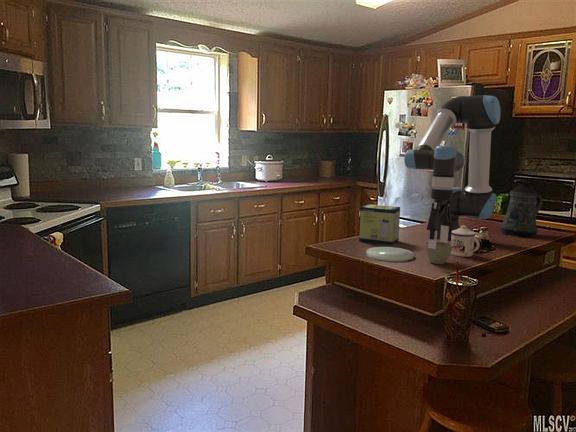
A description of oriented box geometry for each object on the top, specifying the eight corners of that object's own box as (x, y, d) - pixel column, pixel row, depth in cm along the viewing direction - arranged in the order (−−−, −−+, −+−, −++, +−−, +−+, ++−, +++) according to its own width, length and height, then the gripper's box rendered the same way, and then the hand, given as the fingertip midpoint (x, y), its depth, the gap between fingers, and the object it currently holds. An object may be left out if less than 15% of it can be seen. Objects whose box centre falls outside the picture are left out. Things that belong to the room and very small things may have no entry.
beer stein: (495, 234, 247) (500, 183, 243) (508, 229, 262) (513, 181, 258) (531, 239, 237) (537, 186, 232) (542, 233, 251) (548, 183, 247)
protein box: (365, 237, 232) (367, 203, 229) (398, 241, 225) (401, 206, 222) (358, 241, 222) (359, 206, 220) (393, 245, 216) (395, 209, 213)
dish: (378, 248, 209) (378, 244, 209) (420, 255, 199) (420, 251, 199) (358, 256, 194) (358, 252, 194) (402, 264, 184) (403, 260, 184)
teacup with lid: (444, 253, 203) (447, 225, 201) (458, 250, 208) (460, 223, 207) (470, 259, 194) (473, 230, 192) (484, 256, 199) (487, 228, 197)
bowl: (452, 266, 182) (454, 247, 181) (424, 264, 184) (425, 245, 183) (449, 260, 192) (451, 242, 191) (422, 258, 194) (424, 240, 193)
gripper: (442, 185, 196) (438, 239, 199) (420, 189, 176) (416, 249, 179) (462, 187, 192) (457, 241, 195) (441, 191, 171) (437, 252, 175)
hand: (437, 245), depth 187 cm, fingers open, 13 cm apart
